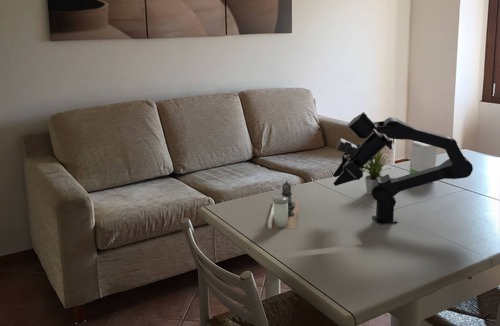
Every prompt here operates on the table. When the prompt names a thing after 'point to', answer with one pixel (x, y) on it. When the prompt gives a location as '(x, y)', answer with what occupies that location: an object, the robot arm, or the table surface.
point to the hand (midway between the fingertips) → (334, 180)
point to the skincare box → (422, 157)
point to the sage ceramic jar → (280, 211)
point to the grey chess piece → (287, 193)
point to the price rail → (271, 217)
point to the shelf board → (291, 218)
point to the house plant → (373, 171)
